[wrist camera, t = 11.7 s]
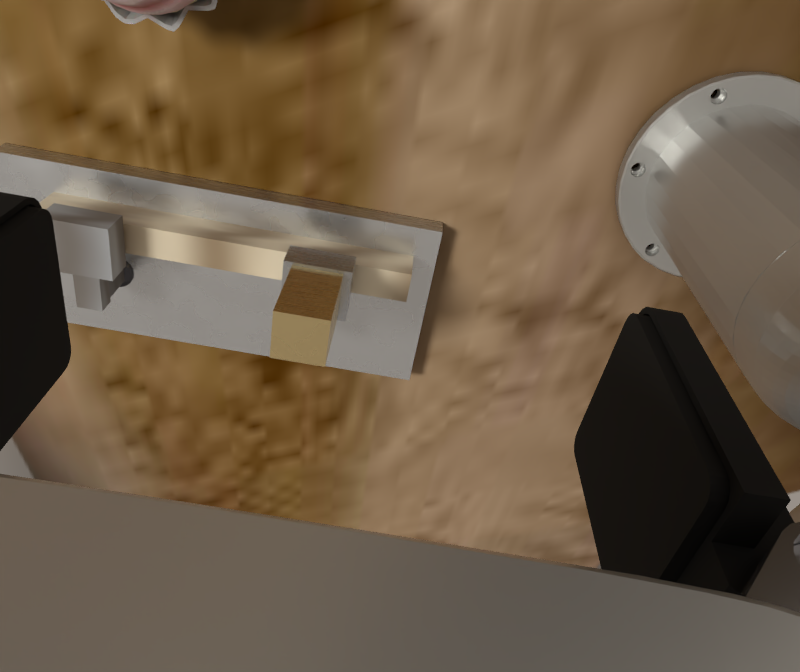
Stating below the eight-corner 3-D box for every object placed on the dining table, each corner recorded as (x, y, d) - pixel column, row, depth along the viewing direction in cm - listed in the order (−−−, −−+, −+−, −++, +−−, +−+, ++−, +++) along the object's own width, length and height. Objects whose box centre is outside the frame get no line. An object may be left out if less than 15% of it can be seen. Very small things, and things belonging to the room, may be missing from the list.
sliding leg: (360, 240, 41) (340, 319, 33) (348, 322, 45) (328, 411, 37) (297, 228, 41) (263, 305, 33) (290, 312, 44) (257, 399, 37)
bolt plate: (442, 222, 42) (442, 232, 41) (410, 367, 49) (409, 380, 48) (4, 143, 41) (-10, 151, 40) (33, 303, 48) (21, 315, 46)
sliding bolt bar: (415, 246, 42) (412, 283, 38) (398, 327, 45) (394, 368, 41) (52, 181, 40) (9, 212, 37) (64, 269, 44) (26, 306, 40)
